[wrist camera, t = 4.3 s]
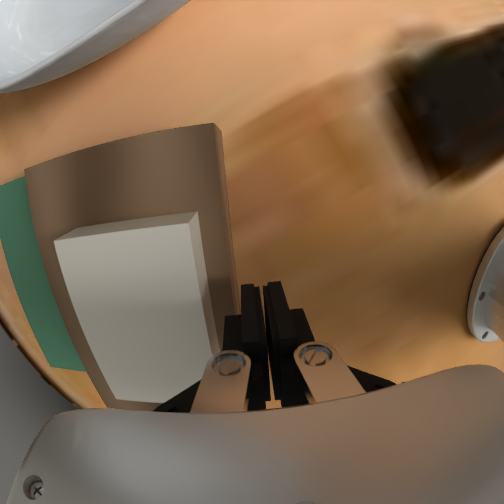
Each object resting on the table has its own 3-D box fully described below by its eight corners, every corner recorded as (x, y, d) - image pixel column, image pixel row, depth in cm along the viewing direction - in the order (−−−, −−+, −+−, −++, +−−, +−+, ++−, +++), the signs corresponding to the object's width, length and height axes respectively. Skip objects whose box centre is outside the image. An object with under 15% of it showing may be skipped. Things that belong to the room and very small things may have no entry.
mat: (62, 164, 14) (58, 164, 13) (120, 371, 19) (119, 374, 19) (-6, 188, 14) (-9, 190, 13) (52, 363, 19) (50, 366, 19)
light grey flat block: (197, 211, 11) (188, 222, 9) (225, 376, 14) (223, 403, 12) (76, 227, 11) (53, 240, 9) (126, 375, 14) (116, 399, 12)
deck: (221, 131, 14) (213, 122, 10) (247, 371, 19) (249, 412, 15) (64, 163, 14) (24, 169, 10) (122, 371, 19) (107, 407, 15)
